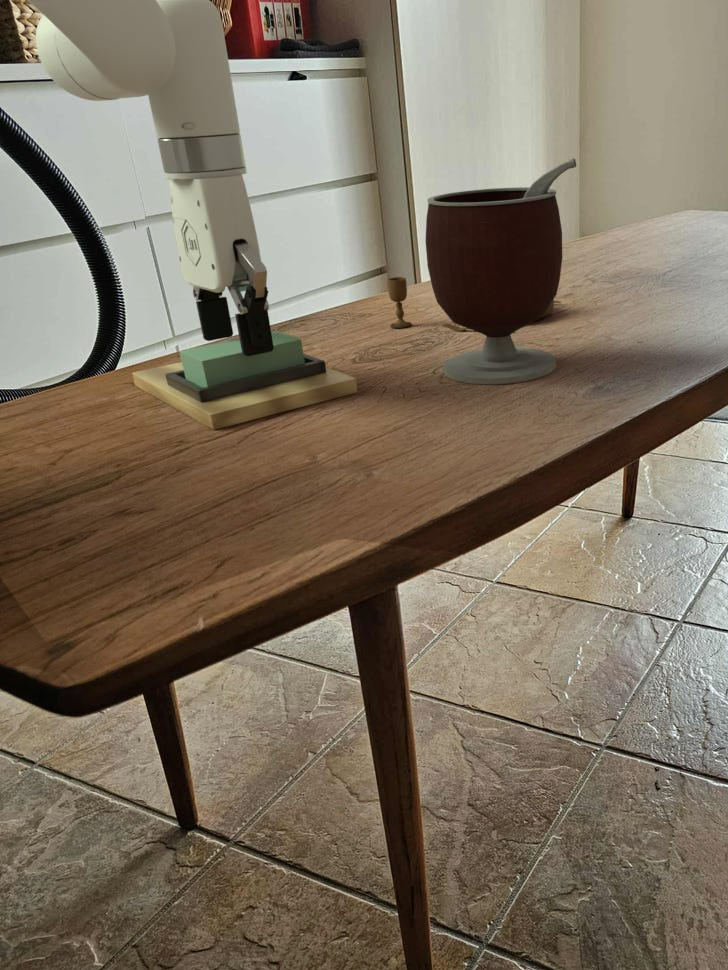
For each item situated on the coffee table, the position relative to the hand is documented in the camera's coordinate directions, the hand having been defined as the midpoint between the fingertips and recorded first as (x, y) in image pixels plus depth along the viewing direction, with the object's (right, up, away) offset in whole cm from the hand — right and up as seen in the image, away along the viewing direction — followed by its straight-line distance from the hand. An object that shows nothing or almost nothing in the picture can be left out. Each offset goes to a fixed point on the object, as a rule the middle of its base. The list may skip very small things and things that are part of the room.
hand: (238, 345), depth 93 cm
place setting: (+25, +13, +28) cm, 40 cm away
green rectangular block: (0, -3, +2) cm, 4 cm away
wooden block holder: (-1, -3, +4) cm, 5 cm away
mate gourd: (+28, -1, +5) cm, 29 cm away
